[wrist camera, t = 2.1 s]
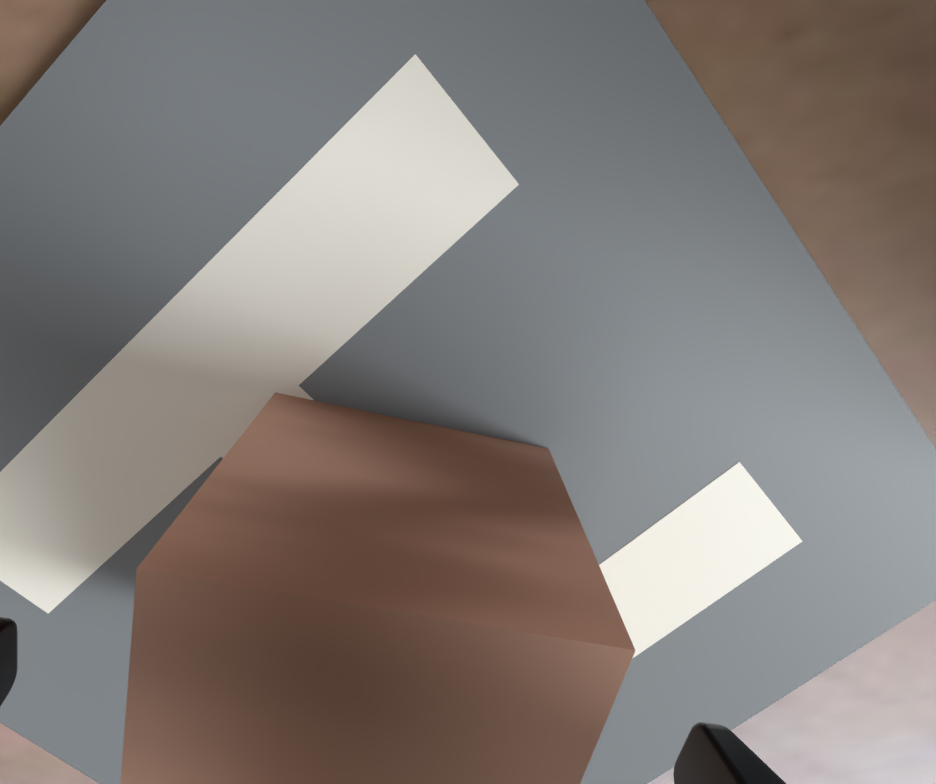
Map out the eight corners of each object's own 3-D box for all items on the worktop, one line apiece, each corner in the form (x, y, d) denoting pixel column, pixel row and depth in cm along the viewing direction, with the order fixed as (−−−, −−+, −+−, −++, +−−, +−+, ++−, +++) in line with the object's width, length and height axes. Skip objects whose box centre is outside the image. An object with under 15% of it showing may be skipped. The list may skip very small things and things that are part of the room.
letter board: (987, 544, 13) (1005, 556, 12) (379, 935, 16) (378, 955, 15) (411, -333, 8) (411, -363, 7) (-305, 507, 11) (-332, 518, 10)
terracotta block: (549, 448, 11) (635, 650, 6) (482, 659, 12) (510, 950, 8) (275, 392, 10) (137, 568, 5) (241, 621, 12) (110, 913, 7)
